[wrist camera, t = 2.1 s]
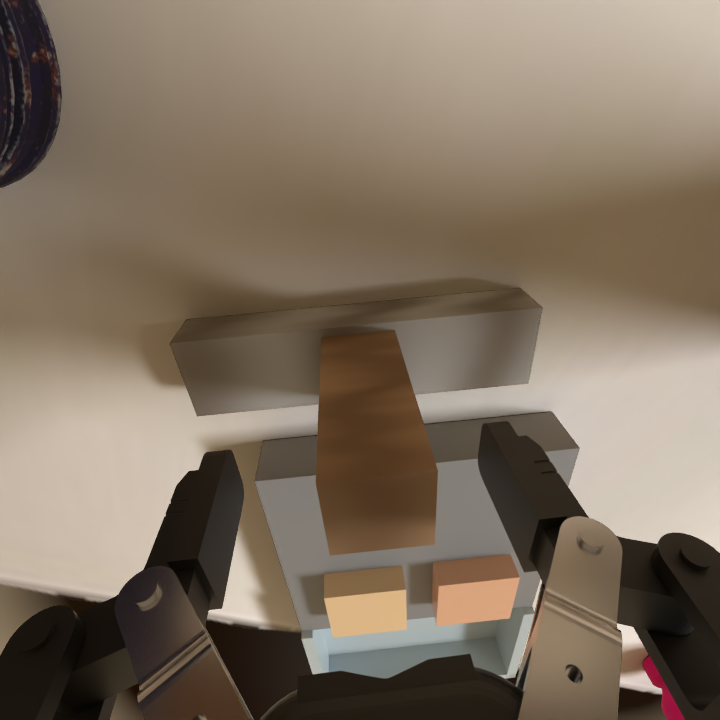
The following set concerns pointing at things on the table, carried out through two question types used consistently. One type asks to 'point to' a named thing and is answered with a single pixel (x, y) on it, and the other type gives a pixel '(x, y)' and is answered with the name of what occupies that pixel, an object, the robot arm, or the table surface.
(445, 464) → the board
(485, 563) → the tile
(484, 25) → the table surface
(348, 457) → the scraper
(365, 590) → the tile
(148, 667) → the robot arm
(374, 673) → the tray
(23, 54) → the storage jar
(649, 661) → the pepper mill
